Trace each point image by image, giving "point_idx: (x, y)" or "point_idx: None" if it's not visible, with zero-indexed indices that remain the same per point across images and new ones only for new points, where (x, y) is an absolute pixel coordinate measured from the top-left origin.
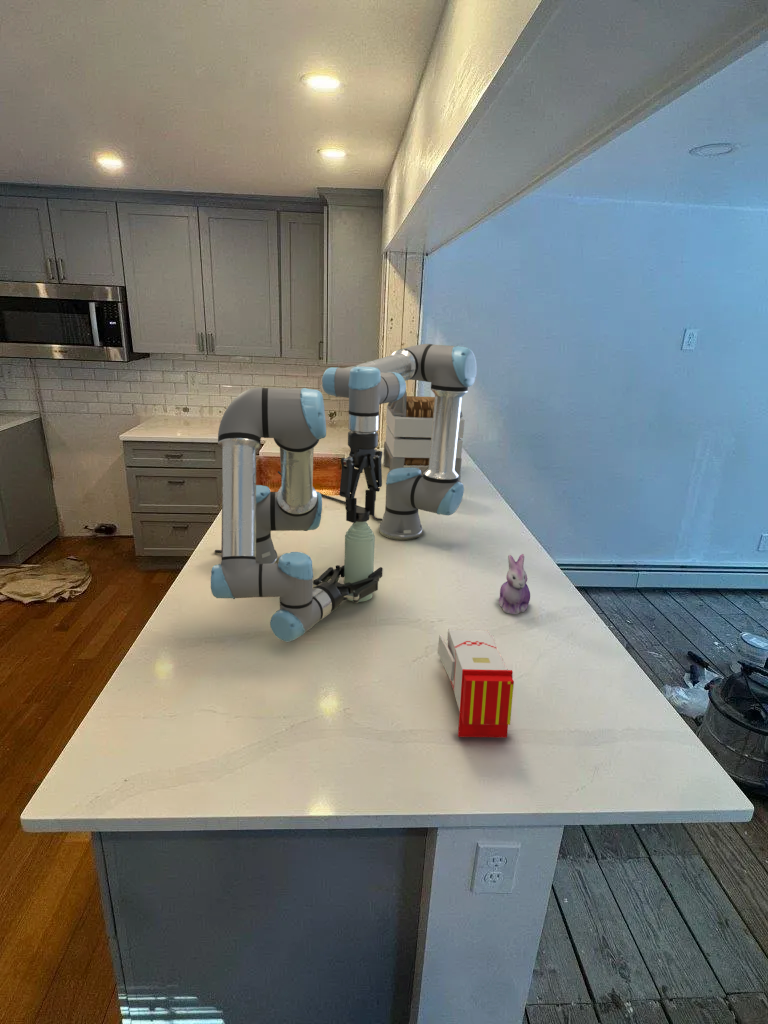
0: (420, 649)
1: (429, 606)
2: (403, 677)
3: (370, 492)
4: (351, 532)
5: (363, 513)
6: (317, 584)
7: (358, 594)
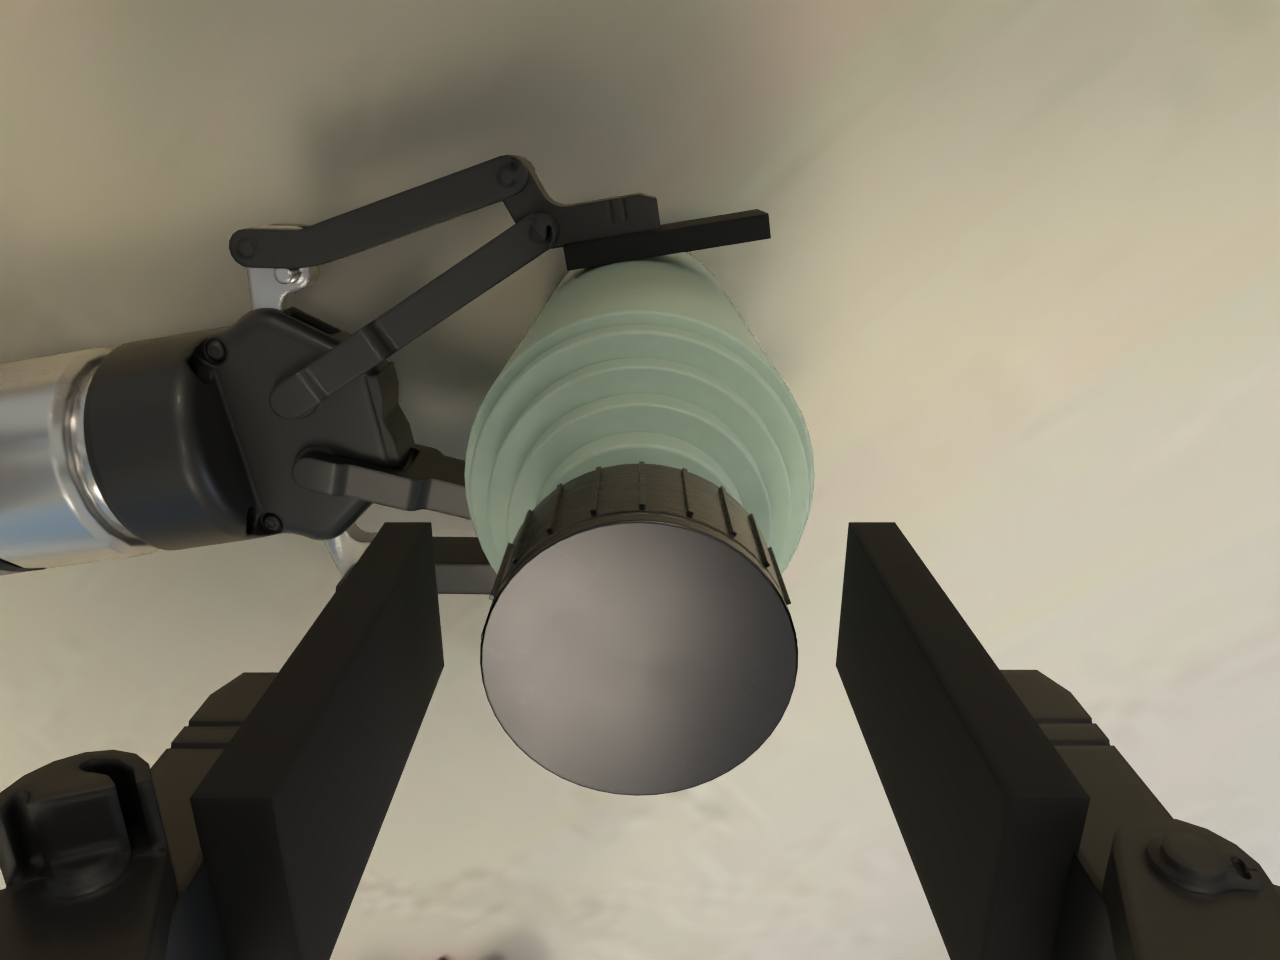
0: (442, 864)
1: (804, 709)
2: None
3: (975, 915)
4: (507, 484)
5: (559, 772)
6: (262, 272)
7: None
